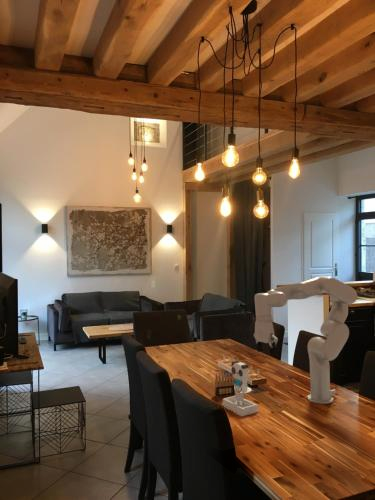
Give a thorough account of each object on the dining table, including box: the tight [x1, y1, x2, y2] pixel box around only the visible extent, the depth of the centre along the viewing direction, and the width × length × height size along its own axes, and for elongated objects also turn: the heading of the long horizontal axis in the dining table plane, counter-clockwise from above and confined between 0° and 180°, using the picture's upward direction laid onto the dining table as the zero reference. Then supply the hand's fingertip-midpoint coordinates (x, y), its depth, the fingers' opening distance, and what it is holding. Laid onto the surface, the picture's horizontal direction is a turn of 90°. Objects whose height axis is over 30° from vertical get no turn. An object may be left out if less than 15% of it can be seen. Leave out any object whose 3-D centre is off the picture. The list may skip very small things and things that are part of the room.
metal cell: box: [234, 390, 245, 408], centre depth 208 cm, size 4×4×8 cm
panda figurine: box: [230, 360, 253, 394], centre depth 236 cm, size 12×11×15 cm
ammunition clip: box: [214, 371, 235, 397], centre depth 228 cm, size 11×2×12 cm, turn 104°
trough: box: [221, 395, 259, 417], centre depth 208 cm, size 10×16×4 cm, turn 30°
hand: (266, 353), depth 210 cm, fingers open, 9 cm apart
